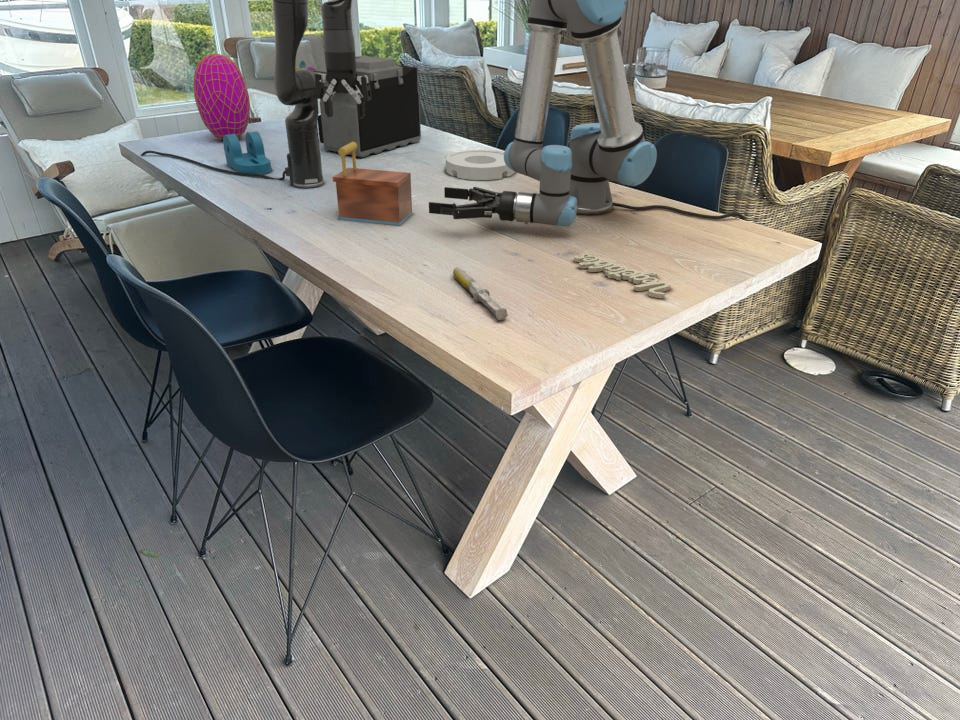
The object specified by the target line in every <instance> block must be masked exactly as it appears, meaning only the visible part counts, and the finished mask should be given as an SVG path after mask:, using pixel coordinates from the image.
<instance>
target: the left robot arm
mask: <svg viewBox="0 0 960 720" xmlns="http://www.w3.org/2000/svg"><path fill="white" fill-rule="evenodd" d="M352 4H353V0H328V1H325V2H323V3H322V5H321V8H320V9H321V10H320V11H321V21H322V31H323V32H322V33H323V34H322V40H323V44H322V45H323V46H322V47H323V52H324V63H325V69H326V72H327V73H326V74H323V73H318V74H316V75H315V79H314V76H313V75H312V73H311V72H310V71H308V70H306V69H300V68H299V69H296V67H297V65H296V64H297V63H296V61H297V54H298V49H299V47H300V45H301V42H302V40H303V37H304V35H305V32H306V30H307V27H308V23H309V0H272V11H273V22H274V23H273V25H274V73H273V74H274V75H273V76H274V77H273V81H274V83H273V85H274V91H275V94H276V97H277V99H278V101H279V102H280V103H281V104H282V105H284V106H294V108H293V109H292V111H291V112H290V113H289V114H288V115H287V116H286V117H285V120H284V123H285V131H286V138H287V146H288V153H287V154H286V161H287V166H286V167H284V171H283V172H282V174H281V176H282V177H280V178H276V177H273V176H268V175H265V174H250V173H242V172H237V171H235V170H228V169H223V168H219V167H215V166H212V165H208V164H205V163H202V162H199V161H197V160H194V159H190V158H188V157H184V156H181V155H176V154H172V153H164V152H159V151H155V150H145V151H143V152H142V153H141V154H140V156H141V157H144V156H145V155H146V154H154V155H159V156H164V157H172V158H175V159H179V160H183V161H187V162H190V163H192V164H196V165H198V166H201V167H204V168H207V169H211V170H214V171H217V172H222V173H226V174H231V175H240V176H246V177H255V178H256V177H257V178H264V179H267V180H274V181H275V180H276V181H283V180H285V179H286V177H289V184H290V186H294V187H296V188H300V189H301V188H303V189H310V188H317V187H320V186H322V185H324V184H325V182H324V175H323V167H322V157H321V147H320V139H319V130H318V116H319V115H320V114H319V112H320V111H319V100H320V99H321V100H323V101H324V107H325V114H326V115H327V117H332V116H333V106H332V101H331V98H332V96H333V95H334V94H335V92H336V93H341V92H342V93H346V94H347V93H350V95H351V96H352V97H354V99H355V100H356V101H357V103H358V104H357V114H358V119H362V118H363V117H364V116H365V102H367V101H369V100H371V98H372V97H371V89H370V81H369V76H368V75H365V76H358V75H357V73H356V56H357V55H356V46H355V43H356V42H355V36H354V30H353V18H352ZM325 80H327V82H328V83H329V87H328V89H327V90H326V93H325V94H324V82H325ZM358 81H359V82H360V85H362V92H363V95H362V94H361V92H360V90H359V88H358V87H357V86H356V84H357V82H358Z"/></svg>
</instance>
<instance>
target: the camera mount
mask: <svg viewBox="0 0 960 720" xmlns="http://www.w3.org/2000/svg"><path fill="white" fill-rule="evenodd" d="M222 140H223V141H222V143H223V149H224V150H223V151H224V156H225V161H226V165H227V166H228V167H230V168H231V169H232V170H233V171H235V172H242V173H250V174H261V175H265V174H268V173H271V172H272V164H271V159H270V158H268V157H267V156H266V153H265V145H264V141H263V139H262V136H261V134H260V132H258V131H247V132H246V133H245V146H246V152H243V151H242V150H243V149H242V146H241V142H240V140H239V138H237V136H236V135H235V134H230V135H224V137H223V139H222Z"/></svg>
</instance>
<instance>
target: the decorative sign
mask: <svg viewBox="0 0 960 720" xmlns="http://www.w3.org/2000/svg"><path fill="white" fill-rule="evenodd" d="M574 262H575V263H578V269H588V270H587V272H588V273H598V272H603V273H604V276H606V277H607V278H608V279H614V280H617V281H621V279H622V280H627V281H628V282H630V283H633V284H634V285H633V291H636V292H643V291H647V290H648V293H647V294H648V296H649V297H652V298H656V299H664V298H665V295H666V292H668V291H669V290H670V289H671V283H670V282H668V281H659V279H658V272H657V271H648V272H639V271H637V270H634V269H630V268H628V267H627V266H626V267H625V266H624V265H619V264H618V263H615V262H611V261H610V260H604V258H601V257H598V256H596V255H592V254H590V253H587V252H586V253H582V254H581V255H580V256H578V255H575V256H574Z"/></svg>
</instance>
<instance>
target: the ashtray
mask: <svg viewBox="0 0 960 720" xmlns="http://www.w3.org/2000/svg"><path fill="white" fill-rule="evenodd" d="M504 152H505V151H504ZM504 152H503V151H498V150H490V149H470V150H469V149H468V150H461V151H456V152H452V153H450V154H448V155H447V156H445V172H446V174H448V175H449V176H453V177H455V176H456V177H457V179H461V180H462V179H463V180H470V181H492V180H494V181H495V180H501V179H503V177H504V178H505V177H511V176H512V175H514V174H515V173H516V172H515V171H514V170H512V169H510V168H508V167H507V165H506V164H505V162H504Z"/></svg>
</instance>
